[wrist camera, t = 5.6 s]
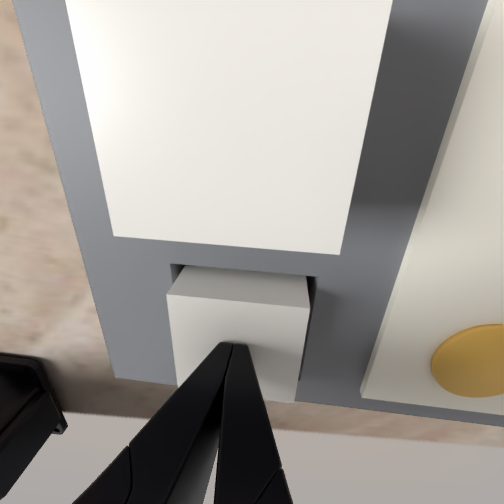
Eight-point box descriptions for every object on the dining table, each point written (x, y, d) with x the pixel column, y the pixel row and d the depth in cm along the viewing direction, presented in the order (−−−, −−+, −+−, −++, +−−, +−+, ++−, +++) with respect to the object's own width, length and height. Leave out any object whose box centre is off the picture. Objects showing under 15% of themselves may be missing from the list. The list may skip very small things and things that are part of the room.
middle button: (178, 190, 7) (113, 236, 5) (164, 14, 6) (46, -87, 3) (317, 200, 7) (339, 255, 4) (345, 17, 5) (412, -92, 3)
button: (203, 323, 12) (177, 389, 9) (199, 243, 10) (166, 294, 7) (291, 332, 11) (293, 403, 9) (302, 252, 10) (310, 308, 7)
